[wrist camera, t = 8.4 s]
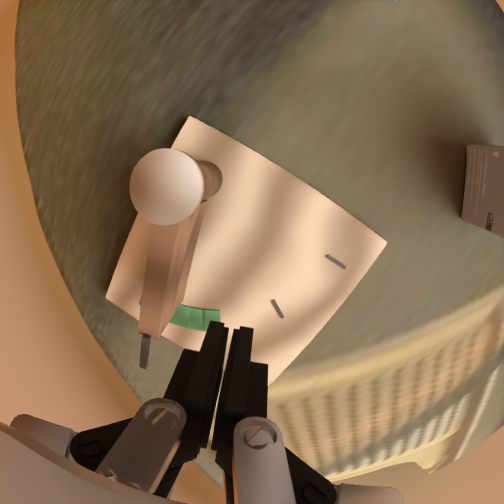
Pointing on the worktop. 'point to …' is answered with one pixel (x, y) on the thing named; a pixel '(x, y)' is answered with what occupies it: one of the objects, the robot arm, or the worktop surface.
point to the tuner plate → (255, 255)
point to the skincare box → (485, 188)
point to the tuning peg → (169, 230)
